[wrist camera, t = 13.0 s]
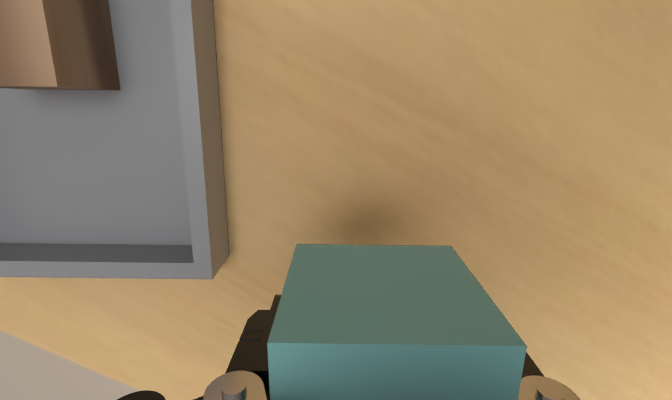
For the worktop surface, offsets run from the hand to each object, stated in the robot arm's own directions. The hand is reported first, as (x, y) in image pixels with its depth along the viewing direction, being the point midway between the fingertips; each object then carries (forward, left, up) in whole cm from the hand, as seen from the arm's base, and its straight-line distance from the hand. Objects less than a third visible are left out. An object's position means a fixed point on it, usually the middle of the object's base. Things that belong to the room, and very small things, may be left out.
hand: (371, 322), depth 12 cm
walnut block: (+16, -10, -11) cm, 22 cm away
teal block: (0, 0, -1) cm, 1 cm away
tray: (+16, -6, -12) cm, 21 cm away
